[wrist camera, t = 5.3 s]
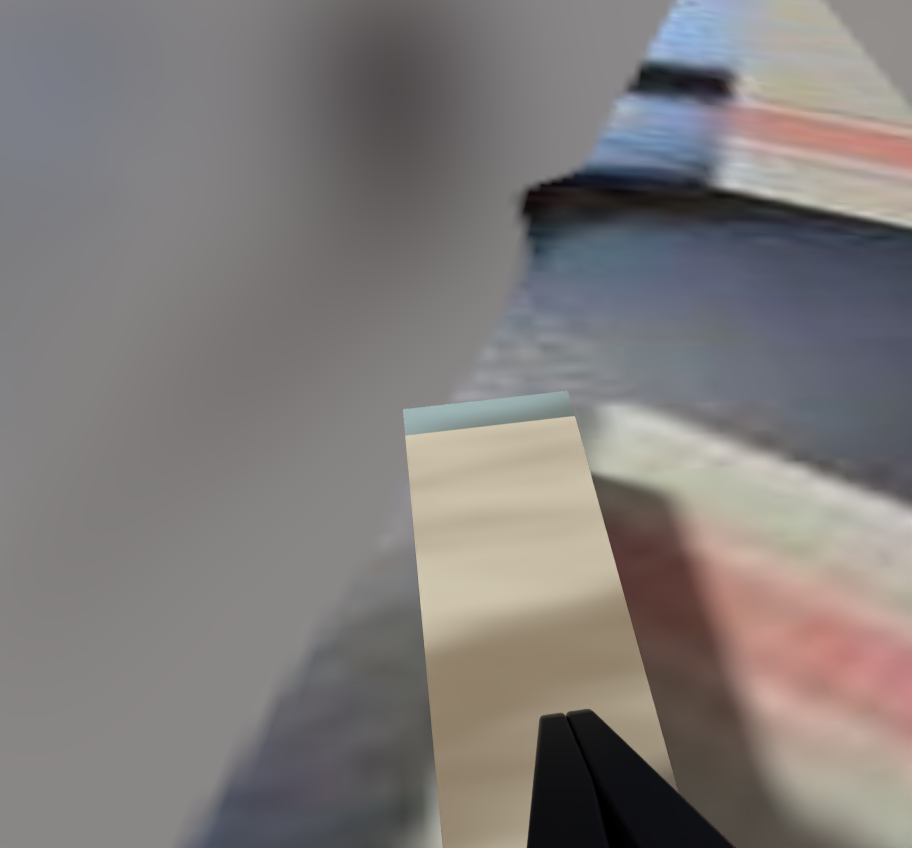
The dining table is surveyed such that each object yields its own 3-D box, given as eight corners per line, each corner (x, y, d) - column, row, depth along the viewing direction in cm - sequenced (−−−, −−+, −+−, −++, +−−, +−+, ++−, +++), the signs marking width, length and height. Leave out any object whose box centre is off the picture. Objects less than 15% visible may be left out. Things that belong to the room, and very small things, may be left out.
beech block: (695, 852, 10) (568, 390, 14) (446, 892, 9) (402, 409, 14) (627, 816, 13) (545, 462, 18) (451, 844, 13) (415, 477, 18)
